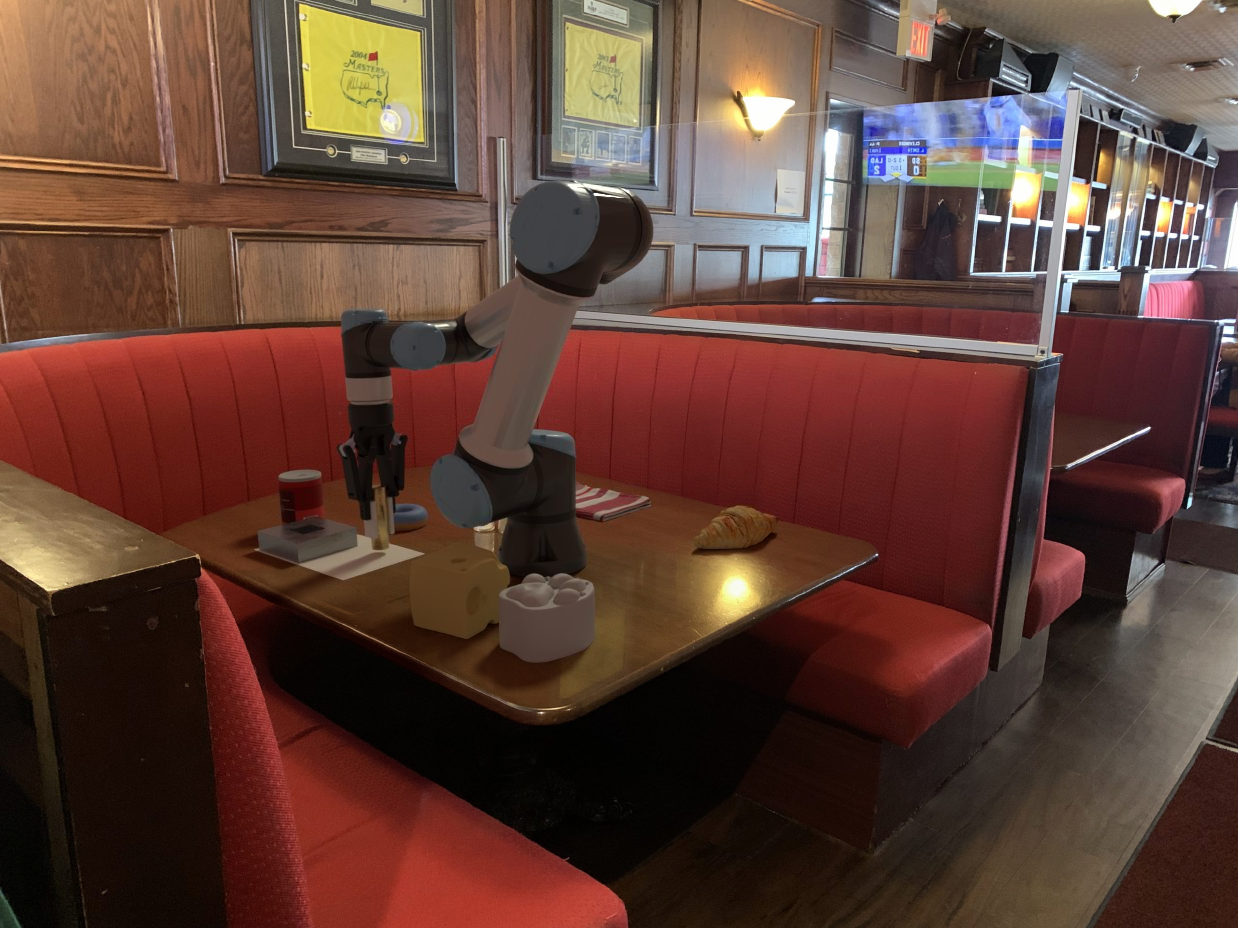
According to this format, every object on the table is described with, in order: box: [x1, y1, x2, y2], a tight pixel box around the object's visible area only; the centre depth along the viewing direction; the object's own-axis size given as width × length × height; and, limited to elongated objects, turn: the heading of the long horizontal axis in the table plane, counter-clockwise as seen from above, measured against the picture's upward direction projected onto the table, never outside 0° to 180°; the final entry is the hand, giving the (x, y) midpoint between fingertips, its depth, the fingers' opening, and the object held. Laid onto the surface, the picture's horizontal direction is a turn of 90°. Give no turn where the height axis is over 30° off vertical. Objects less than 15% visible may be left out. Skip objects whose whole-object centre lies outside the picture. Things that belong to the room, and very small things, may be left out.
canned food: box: [277, 469, 325, 525], centre depth 171 cm, size 8×8×11 cm
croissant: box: [692, 505, 779, 550], centre depth 165 cm, size 21×10×8 cm, turn 129°
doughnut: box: [393, 503, 429, 532], centre depth 174 cm, size 10×10×5 cm
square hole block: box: [257, 516, 358, 563], centre depth 159 cm, size 12×12×4 cm
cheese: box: [408, 541, 511, 640], centre depth 127 cm, size 10×11×10 cm
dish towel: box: [576, 480, 652, 522], centre depth 191 cm, size 17×23×3 cm
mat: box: [253, 533, 425, 581], centre depth 158 cm, size 26×17×1 cm, turn 53°
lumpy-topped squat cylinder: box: [498, 573, 596, 664], centre depth 120 cm, size 10×13×9 cm
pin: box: [371, 484, 390, 550], centre depth 155 cm, size 3×3×11 cm
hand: (379, 534), depth 156 cm, fingers closed on pin, 3 cm apart
